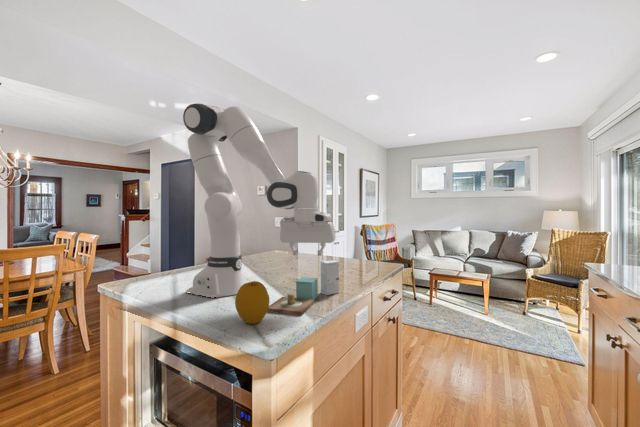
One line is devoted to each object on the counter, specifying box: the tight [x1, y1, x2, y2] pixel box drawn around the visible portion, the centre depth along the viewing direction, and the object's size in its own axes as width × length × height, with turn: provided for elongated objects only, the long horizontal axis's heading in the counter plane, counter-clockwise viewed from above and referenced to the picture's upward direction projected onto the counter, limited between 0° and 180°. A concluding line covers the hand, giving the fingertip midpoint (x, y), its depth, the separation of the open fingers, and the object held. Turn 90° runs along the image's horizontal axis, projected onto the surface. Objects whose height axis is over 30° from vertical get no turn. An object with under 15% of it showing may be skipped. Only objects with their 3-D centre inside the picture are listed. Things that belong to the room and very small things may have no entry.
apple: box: [234, 280, 270, 325], centre depth 83 cm, size 10×10×12 cm
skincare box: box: [320, 259, 340, 296], centre depth 110 cm, size 6×4×12 cm
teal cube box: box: [295, 276, 319, 301], centre depth 103 cm, size 6×6×7 cm
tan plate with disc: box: [267, 293, 315, 316], centre depth 94 cm, size 12×12×4 cm
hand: (307, 255), depth 103 cm, fingers open, 8 cm apart
